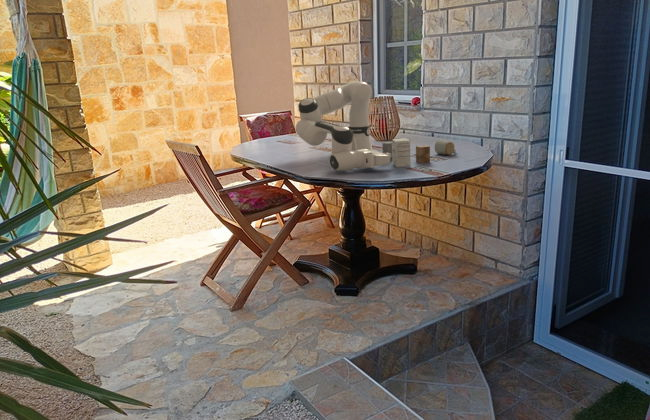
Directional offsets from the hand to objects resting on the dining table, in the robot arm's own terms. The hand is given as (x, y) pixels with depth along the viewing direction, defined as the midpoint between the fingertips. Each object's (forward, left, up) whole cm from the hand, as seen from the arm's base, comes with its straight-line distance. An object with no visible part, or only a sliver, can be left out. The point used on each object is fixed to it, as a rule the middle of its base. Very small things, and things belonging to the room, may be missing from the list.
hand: (390, 154), depth 243 cm
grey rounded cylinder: (-8, +14, -6) cm, 17 cm away
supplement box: (+4, +5, -6) cm, 9 cm away
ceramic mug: (+14, +37, -6) cm, 40 cm away
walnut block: (+11, +15, -6) cm, 19 cm away
